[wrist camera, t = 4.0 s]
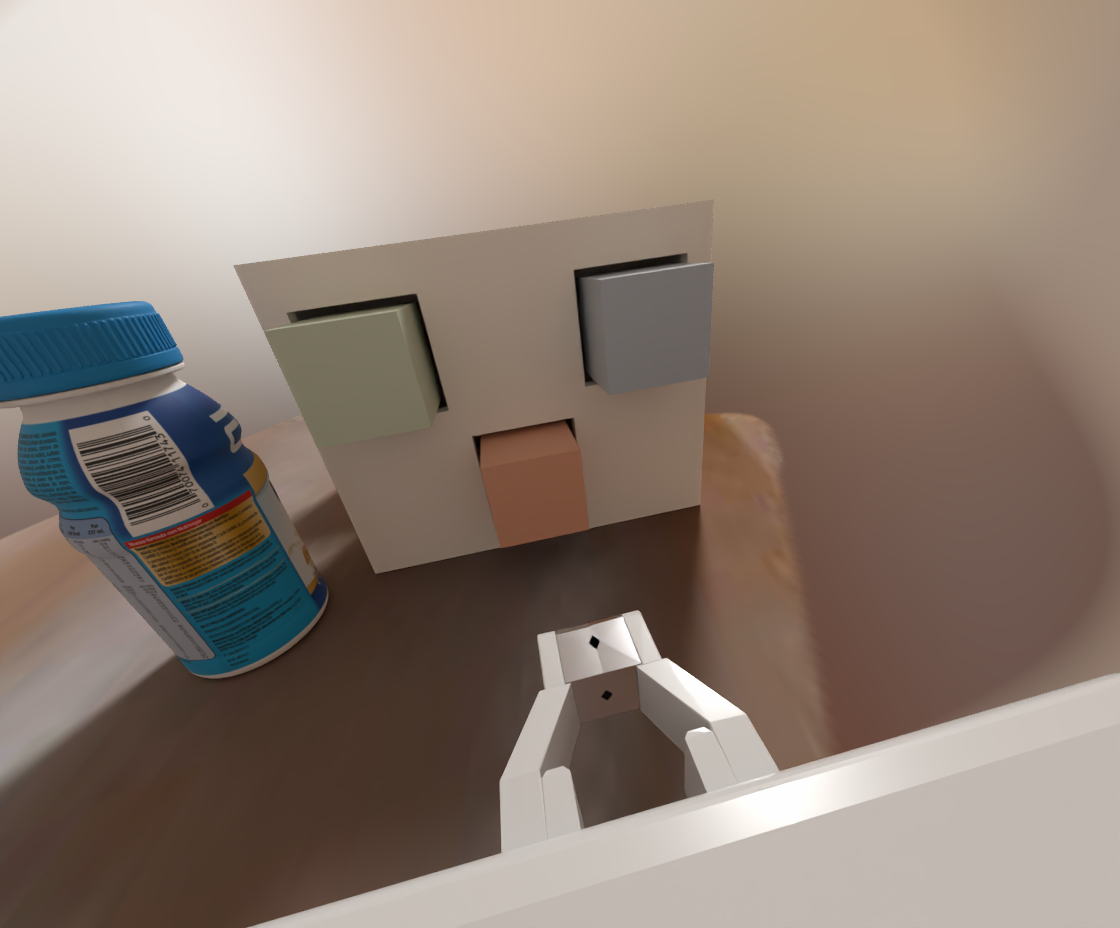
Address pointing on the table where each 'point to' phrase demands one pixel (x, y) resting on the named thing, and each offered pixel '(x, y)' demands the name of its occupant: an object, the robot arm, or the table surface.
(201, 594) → the beverage bottle
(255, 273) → the button panel
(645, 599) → the table surface
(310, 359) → the sage-green button
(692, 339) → the slate-blue button
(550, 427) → the terracotta button
